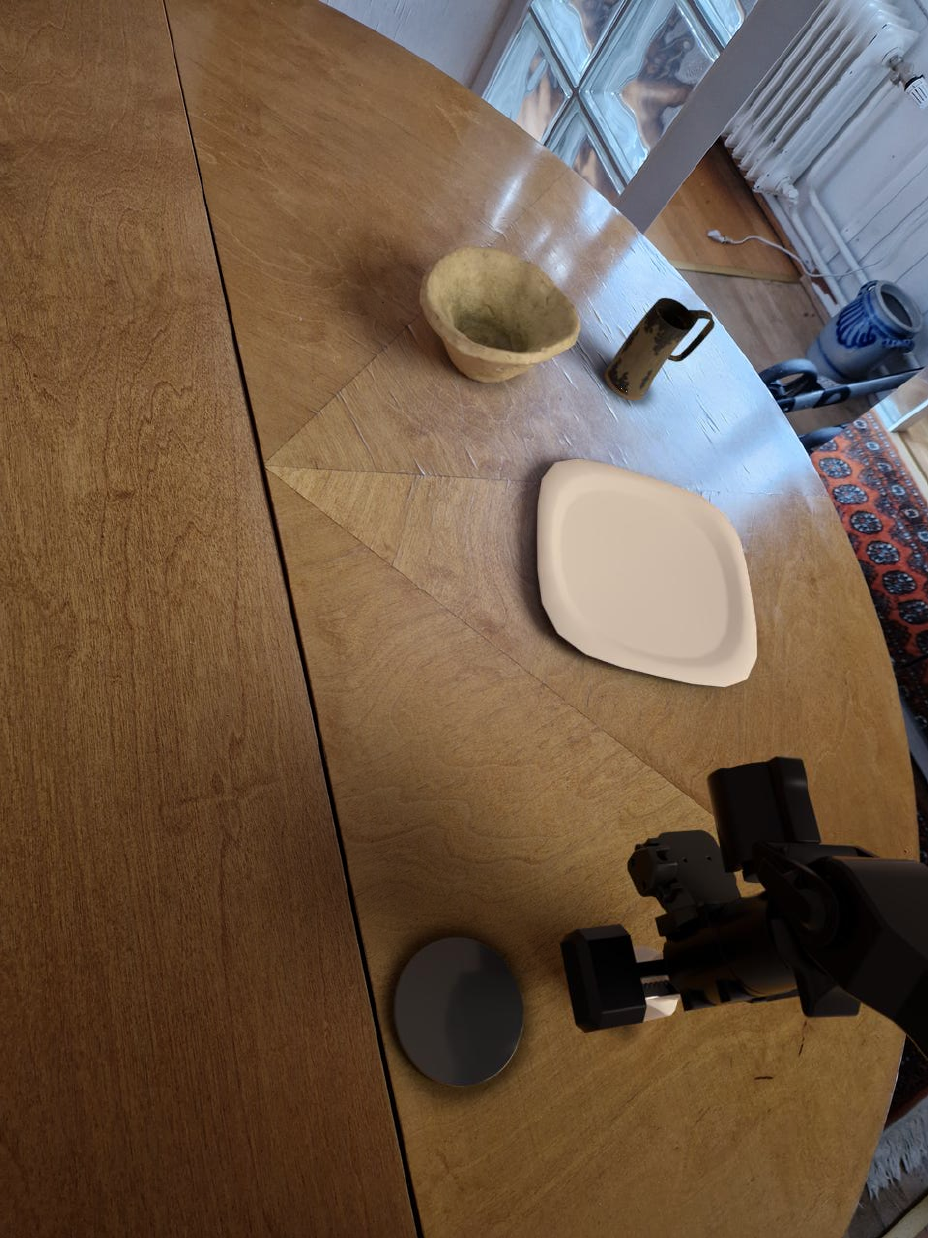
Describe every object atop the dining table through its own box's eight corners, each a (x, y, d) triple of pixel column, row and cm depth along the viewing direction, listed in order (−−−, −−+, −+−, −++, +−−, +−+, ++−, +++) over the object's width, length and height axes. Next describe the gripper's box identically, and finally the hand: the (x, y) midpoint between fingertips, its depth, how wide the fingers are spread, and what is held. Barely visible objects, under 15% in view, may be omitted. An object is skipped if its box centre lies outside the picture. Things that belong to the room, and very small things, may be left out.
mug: (607, 395, 105) (662, 319, 96) (600, 360, 108) (652, 283, 98) (664, 407, 108) (723, 334, 99) (656, 373, 111) (712, 299, 101)
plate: (530, 654, 83) (538, 646, 82) (531, 450, 96) (538, 440, 95) (758, 707, 90) (769, 700, 89) (730, 510, 103) (739, 501, 102)
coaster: (539, 1060, 65) (542, 1059, 65) (415, 1108, 61) (417, 1108, 60) (496, 923, 69) (498, 921, 69) (376, 959, 65) (378, 957, 64)
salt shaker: (587, 1005, 69) (652, 988, 61) (599, 955, 71) (663, 932, 63) (631, 1027, 69) (701, 1013, 61) (642, 977, 71) (711, 957, 64)
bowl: (474, 435, 100) (403, 356, 89) (474, 315, 108) (409, 228, 97) (589, 396, 94) (529, 305, 83) (581, 271, 102) (525, 172, 90)
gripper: (827, 811, 63) (701, 867, 75) (599, 826, 56) (501, 885, 68) (886, 979, 58) (740, 1009, 70) (644, 1020, 51) (529, 1045, 63)
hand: (631, 982), depth 68 cm, fingers open, 9 cm apart
